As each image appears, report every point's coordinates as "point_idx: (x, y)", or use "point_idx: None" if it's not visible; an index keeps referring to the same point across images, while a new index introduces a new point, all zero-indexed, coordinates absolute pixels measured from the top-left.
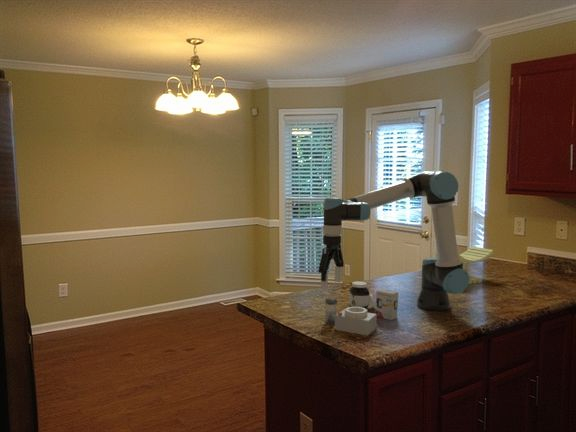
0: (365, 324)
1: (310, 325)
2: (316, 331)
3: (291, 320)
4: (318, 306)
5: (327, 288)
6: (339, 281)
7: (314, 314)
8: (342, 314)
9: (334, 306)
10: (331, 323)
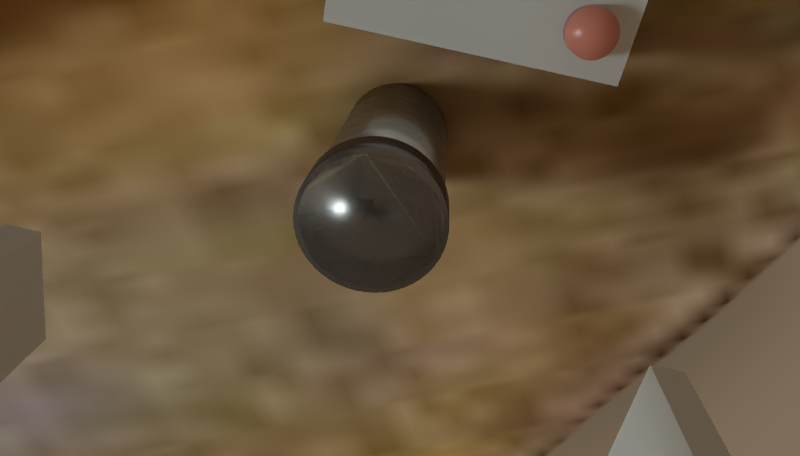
0: None
1: (519, 278)
2: (664, 203)
3: (440, 422)
4: None
5: (659, 369)
6: (32, 253)
7: (228, 305)
8: (570, 3)
9: (421, 147)
10: (444, 120)
